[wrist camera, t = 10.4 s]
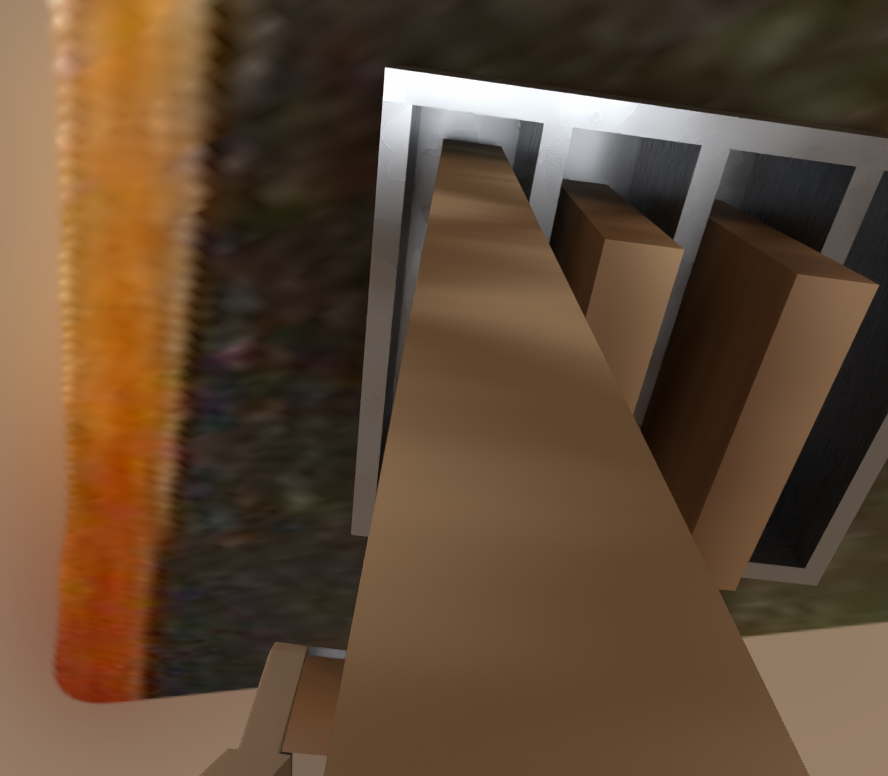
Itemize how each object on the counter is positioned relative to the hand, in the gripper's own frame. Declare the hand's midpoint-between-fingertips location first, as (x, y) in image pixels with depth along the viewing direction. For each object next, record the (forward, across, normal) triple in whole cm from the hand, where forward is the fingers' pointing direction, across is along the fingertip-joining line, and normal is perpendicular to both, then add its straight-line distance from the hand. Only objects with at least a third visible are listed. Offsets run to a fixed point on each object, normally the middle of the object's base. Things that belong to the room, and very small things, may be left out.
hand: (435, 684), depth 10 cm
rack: (+20, -6, 0) cm, 21 cm away
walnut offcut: (+18, -9, 0) cm, 20 cm away
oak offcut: (+18, -4, 0) cm, 19 cm away
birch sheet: (+17, 0, 0) cm, 17 cm away
